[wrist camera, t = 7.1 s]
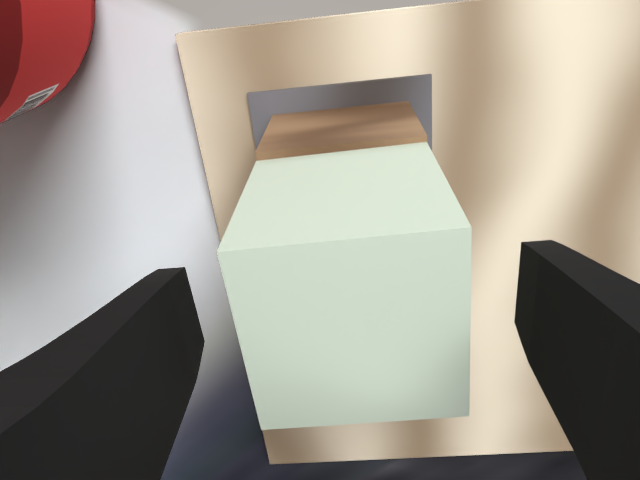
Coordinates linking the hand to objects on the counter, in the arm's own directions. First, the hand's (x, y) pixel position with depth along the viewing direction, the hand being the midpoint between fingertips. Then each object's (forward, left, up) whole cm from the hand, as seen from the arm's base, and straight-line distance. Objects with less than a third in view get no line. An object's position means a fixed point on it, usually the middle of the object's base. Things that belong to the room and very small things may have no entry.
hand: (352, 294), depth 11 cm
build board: (-3, +5, -9) cm, 10 cm away
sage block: (0, 0, -4) cm, 4 cm away
